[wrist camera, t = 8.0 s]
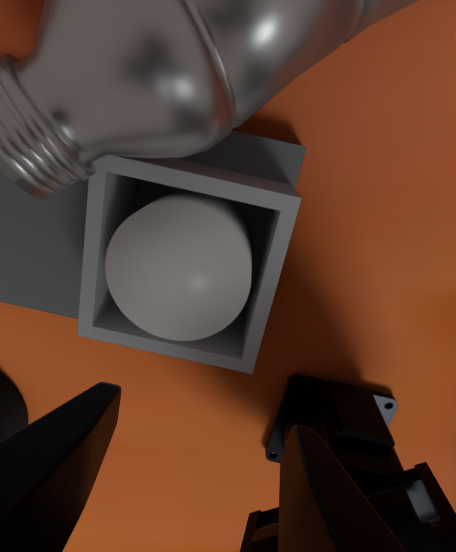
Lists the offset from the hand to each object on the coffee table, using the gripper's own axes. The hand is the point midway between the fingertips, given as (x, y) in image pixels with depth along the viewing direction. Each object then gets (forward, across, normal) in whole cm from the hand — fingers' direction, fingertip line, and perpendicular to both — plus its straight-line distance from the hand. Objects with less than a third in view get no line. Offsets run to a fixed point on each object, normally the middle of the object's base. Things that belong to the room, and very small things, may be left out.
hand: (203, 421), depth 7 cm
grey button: (+11, +2, 0) cm, 11 cm away
